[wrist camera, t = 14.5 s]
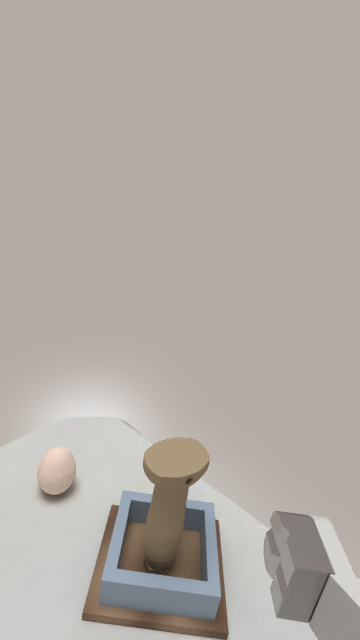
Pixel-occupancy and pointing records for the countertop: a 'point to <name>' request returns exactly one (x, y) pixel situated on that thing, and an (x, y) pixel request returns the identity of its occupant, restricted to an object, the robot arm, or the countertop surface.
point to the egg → (56, 471)
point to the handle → (169, 497)
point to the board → (182, 567)
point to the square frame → (160, 589)
